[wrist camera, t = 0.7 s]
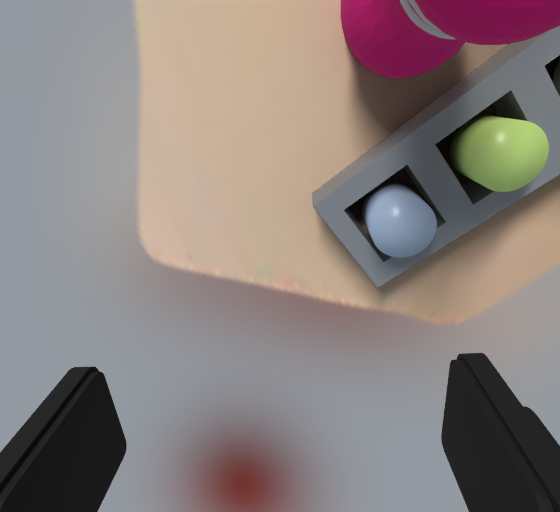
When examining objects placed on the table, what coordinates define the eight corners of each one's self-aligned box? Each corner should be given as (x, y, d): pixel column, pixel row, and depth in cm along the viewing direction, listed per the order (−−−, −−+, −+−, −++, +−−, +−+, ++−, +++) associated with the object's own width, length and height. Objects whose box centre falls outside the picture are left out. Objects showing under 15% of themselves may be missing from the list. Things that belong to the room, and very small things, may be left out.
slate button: (399, 170, 26) (414, 184, 22) (429, 214, 27) (448, 233, 23) (351, 205, 27) (358, 223, 23) (381, 245, 28) (393, 268, 25)
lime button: (495, 101, 24) (529, 104, 20) (523, 152, 25) (560, 163, 21) (438, 142, 25) (461, 151, 21) (467, 189, 26) (494, 205, 22)
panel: (606, -30, 22) (657, -50, 19) (653, 84, 25) (705, 84, 21) (312, 193, 29) (313, 206, 26) (370, 267, 31) (377, 287, 28)
